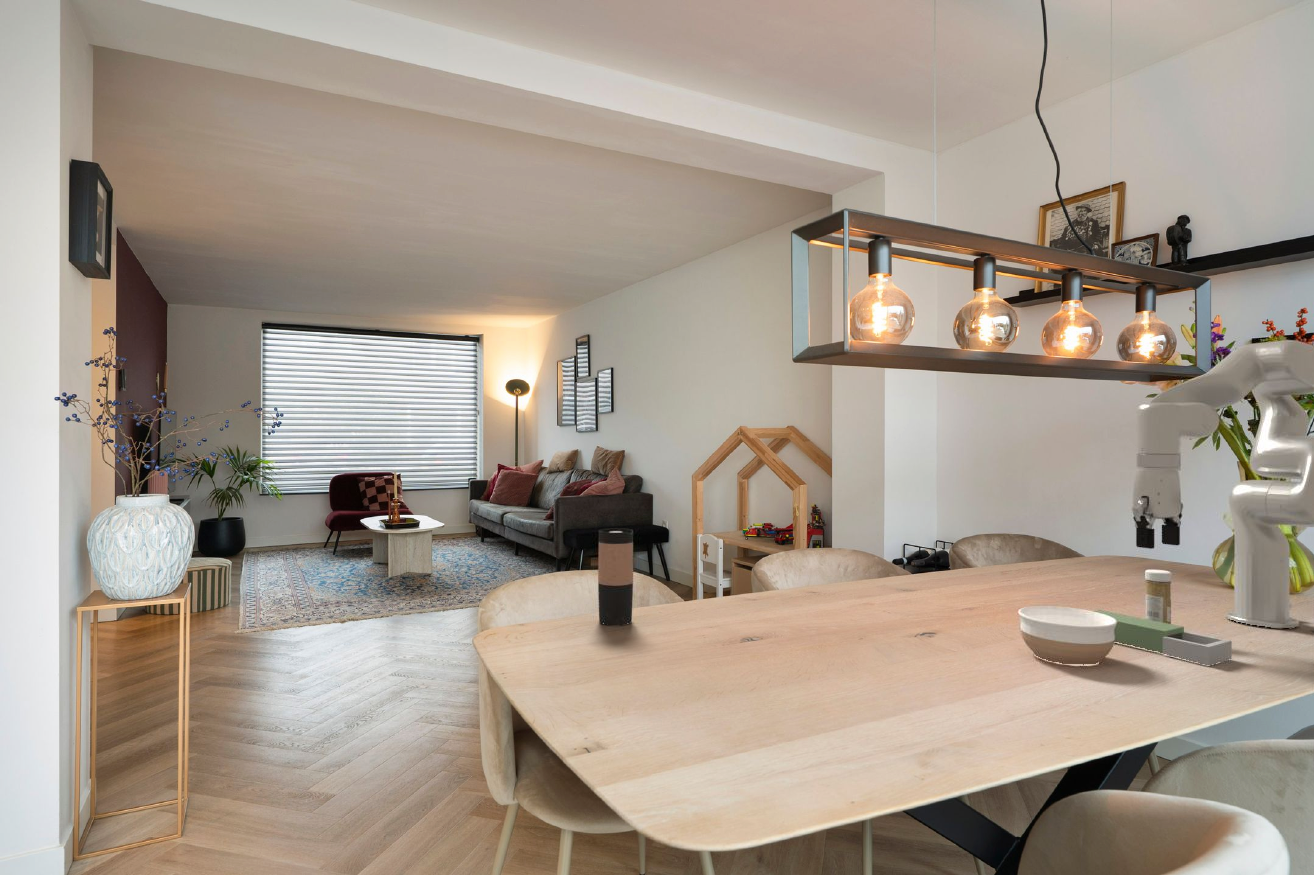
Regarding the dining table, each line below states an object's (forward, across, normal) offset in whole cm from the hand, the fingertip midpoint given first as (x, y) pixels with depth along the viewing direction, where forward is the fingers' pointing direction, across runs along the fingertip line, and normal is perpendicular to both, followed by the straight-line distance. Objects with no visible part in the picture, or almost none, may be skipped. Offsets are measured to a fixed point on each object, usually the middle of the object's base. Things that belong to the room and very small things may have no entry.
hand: (1158, 546), depth 152 cm
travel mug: (+19, +92, -64) cm, 114 cm away
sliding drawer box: (+19, +10, +4) cm, 21 cm away
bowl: (+19, +31, 0) cm, 37 cm away
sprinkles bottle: (+19, -1, 0) cm, 19 cm away
